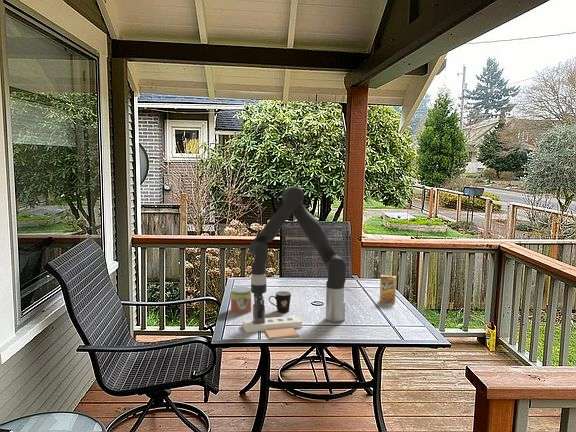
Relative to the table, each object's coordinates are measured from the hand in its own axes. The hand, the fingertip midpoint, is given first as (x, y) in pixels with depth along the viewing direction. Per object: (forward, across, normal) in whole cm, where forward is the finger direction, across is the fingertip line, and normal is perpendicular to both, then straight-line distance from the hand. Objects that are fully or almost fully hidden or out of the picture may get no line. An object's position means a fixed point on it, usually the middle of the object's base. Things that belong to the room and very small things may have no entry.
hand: (258, 316), depth 220 cm
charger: (+4, 0, 0) cm, 4 cm away
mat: (+6, -10, -9) cm, 15 cm away
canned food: (+6, +28, +4) cm, 29 cm away
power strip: (+6, 0, -7) cm, 9 cm away
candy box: (+7, +25, -83) cm, 87 cm away
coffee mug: (+6, +23, -17) cm, 29 cm away
